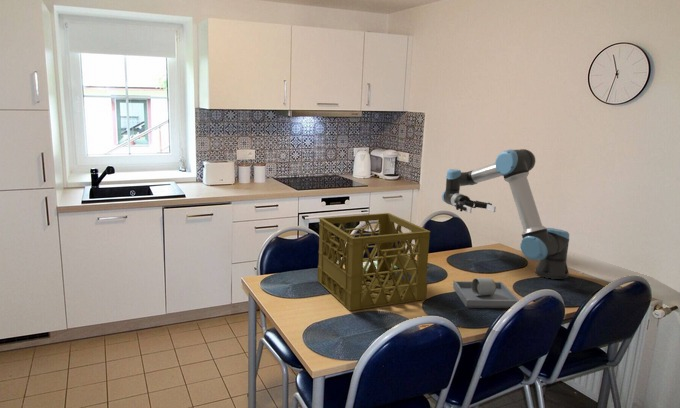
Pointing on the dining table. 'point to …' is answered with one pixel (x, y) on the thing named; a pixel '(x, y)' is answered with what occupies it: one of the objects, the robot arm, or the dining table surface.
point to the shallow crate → (496, 300)
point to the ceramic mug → (483, 286)
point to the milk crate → (387, 255)
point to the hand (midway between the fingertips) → (482, 210)
